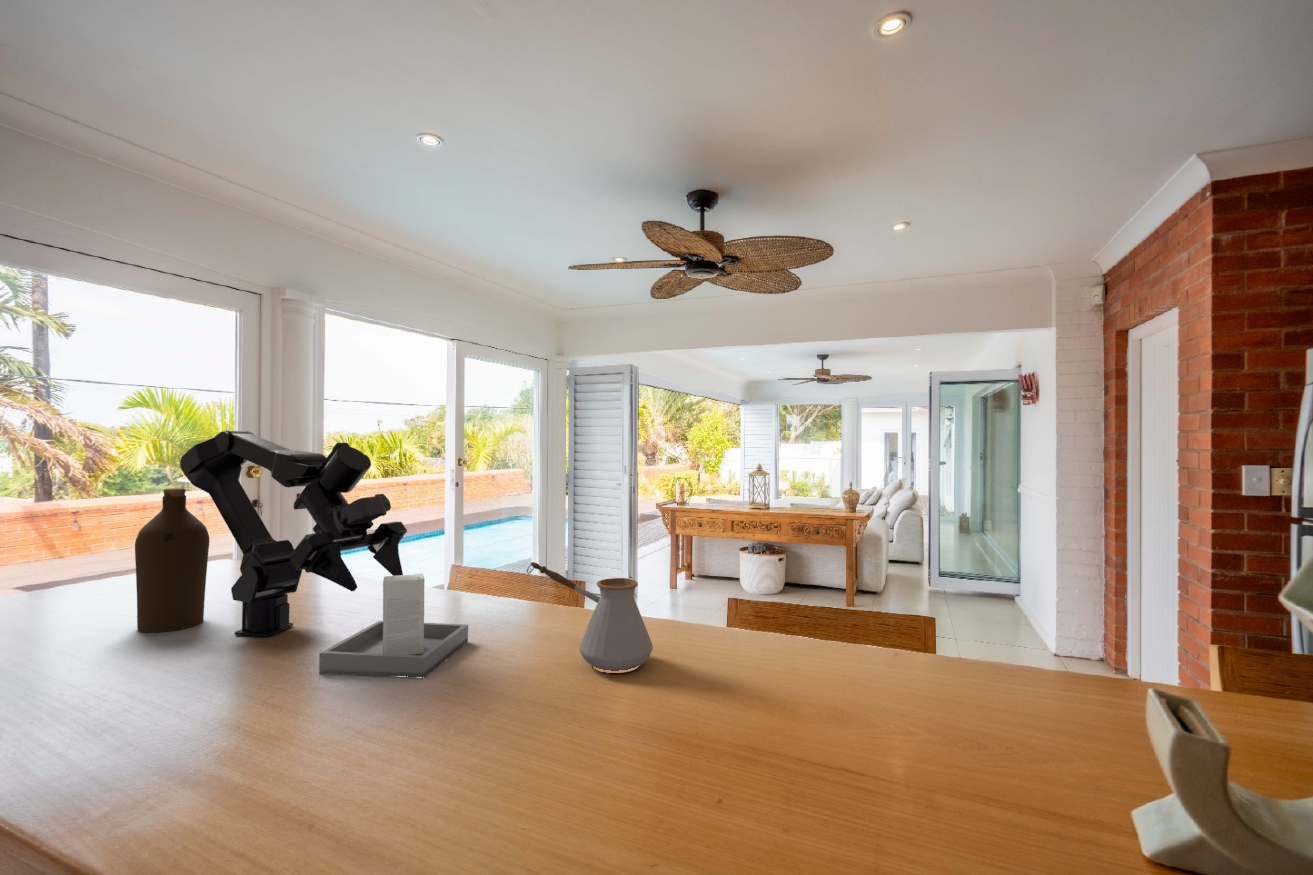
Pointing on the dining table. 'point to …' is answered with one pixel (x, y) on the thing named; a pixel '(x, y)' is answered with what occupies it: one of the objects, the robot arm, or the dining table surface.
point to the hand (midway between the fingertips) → (378, 583)
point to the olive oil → (171, 567)
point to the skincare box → (403, 614)
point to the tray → (368, 658)
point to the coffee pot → (611, 624)
